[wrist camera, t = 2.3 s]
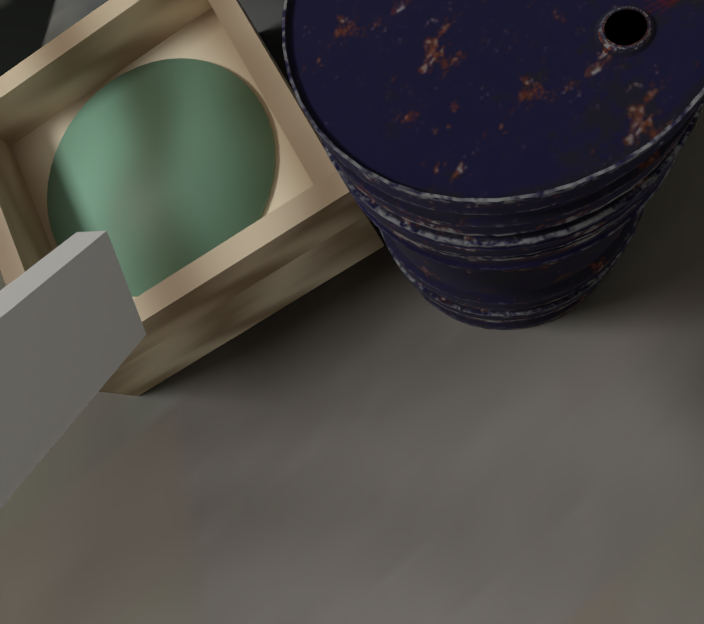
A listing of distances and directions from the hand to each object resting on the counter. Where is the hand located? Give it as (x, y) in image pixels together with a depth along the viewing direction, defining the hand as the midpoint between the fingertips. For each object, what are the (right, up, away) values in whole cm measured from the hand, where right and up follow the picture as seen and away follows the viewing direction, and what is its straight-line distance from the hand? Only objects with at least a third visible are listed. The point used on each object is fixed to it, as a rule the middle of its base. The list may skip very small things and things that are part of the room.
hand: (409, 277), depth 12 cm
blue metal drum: (+6, +3, +15) cm, 16 cm away
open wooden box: (-9, +5, +19) cm, 21 cm away
